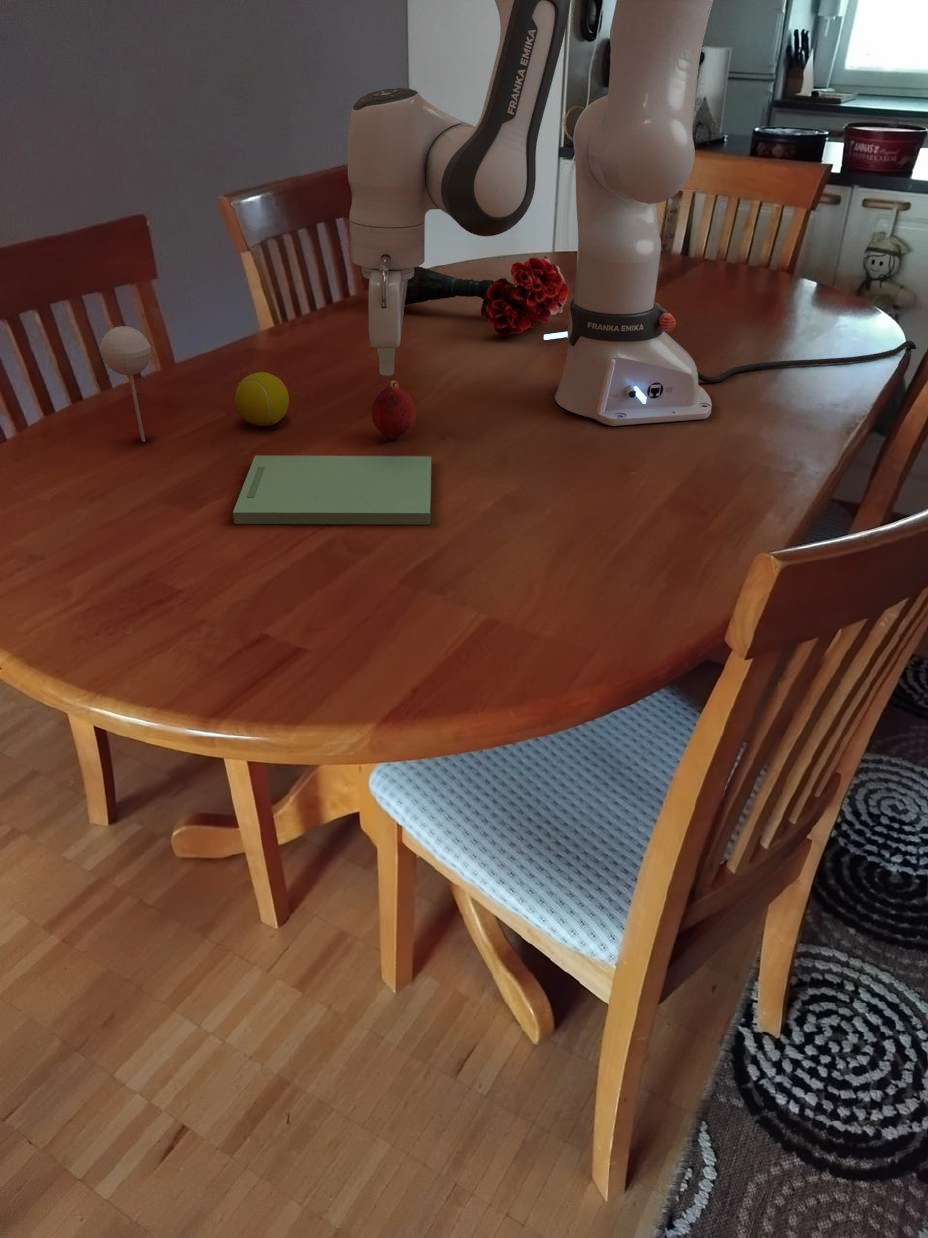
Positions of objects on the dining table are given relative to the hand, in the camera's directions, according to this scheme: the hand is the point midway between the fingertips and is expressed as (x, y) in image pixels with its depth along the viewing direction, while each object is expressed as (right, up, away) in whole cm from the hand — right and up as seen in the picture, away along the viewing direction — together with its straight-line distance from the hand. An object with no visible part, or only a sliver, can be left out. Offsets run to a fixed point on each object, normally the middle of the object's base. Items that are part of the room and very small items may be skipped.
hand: (388, 360), depth 119 cm
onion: (0, -9, +6) cm, 11 cm away
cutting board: (-5, -18, -7) cm, 20 cm away
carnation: (+10, +20, +49) cm, 54 cm away
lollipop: (-33, -9, +5) cm, 34 cm away
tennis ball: (-18, -6, +10) cm, 21 cm away
